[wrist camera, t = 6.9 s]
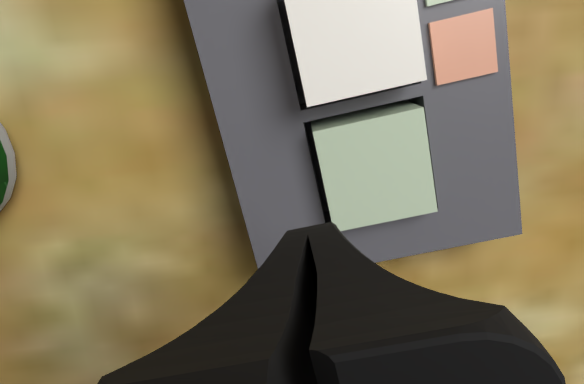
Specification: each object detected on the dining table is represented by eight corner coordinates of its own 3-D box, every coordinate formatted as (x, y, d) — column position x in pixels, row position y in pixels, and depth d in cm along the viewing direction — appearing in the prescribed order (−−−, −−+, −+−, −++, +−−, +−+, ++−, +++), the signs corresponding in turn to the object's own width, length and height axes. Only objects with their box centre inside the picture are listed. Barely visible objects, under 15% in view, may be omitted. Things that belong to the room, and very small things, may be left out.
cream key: (404, 76, 19) (427, 79, 15) (305, 98, 19) (307, 107, 16) (388, -33, 17) (409, -56, 14) (283, -7, 18) (279, -22, 14)
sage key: (416, 187, 21) (437, 211, 18) (328, 205, 22) (334, 232, 18) (403, 99, 20) (423, 107, 17) (310, 119, 20) (312, 132, 17)
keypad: (493, 211, 22) (524, 235, 19) (266, 256, 23) (261, 286, 20) (447, -272, 16) (481, -348, 13) (149, -185, 17) (116, -237, 14)
